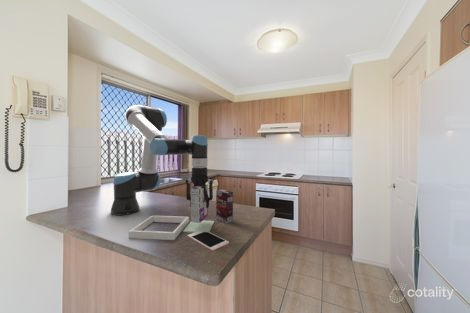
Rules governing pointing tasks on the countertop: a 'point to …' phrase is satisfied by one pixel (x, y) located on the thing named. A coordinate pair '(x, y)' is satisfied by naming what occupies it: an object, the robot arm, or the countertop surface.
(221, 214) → the supplement box
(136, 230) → the tray
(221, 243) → the cell phone
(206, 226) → the mat
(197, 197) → the candy bar box
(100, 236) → the countertop surface
